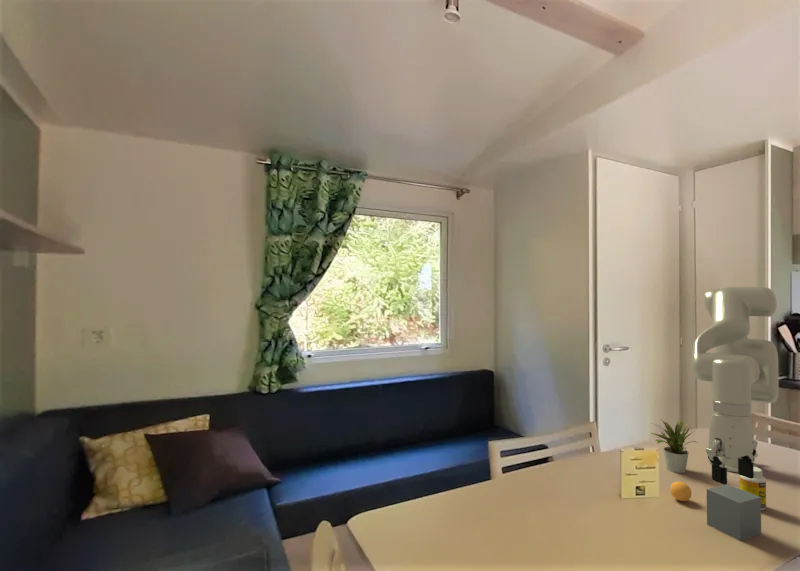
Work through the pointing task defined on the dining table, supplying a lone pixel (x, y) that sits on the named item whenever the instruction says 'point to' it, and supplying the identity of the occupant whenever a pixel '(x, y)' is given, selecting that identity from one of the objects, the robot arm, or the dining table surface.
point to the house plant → (675, 447)
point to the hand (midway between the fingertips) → (732, 479)
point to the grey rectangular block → (734, 511)
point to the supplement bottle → (755, 485)
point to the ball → (680, 491)
